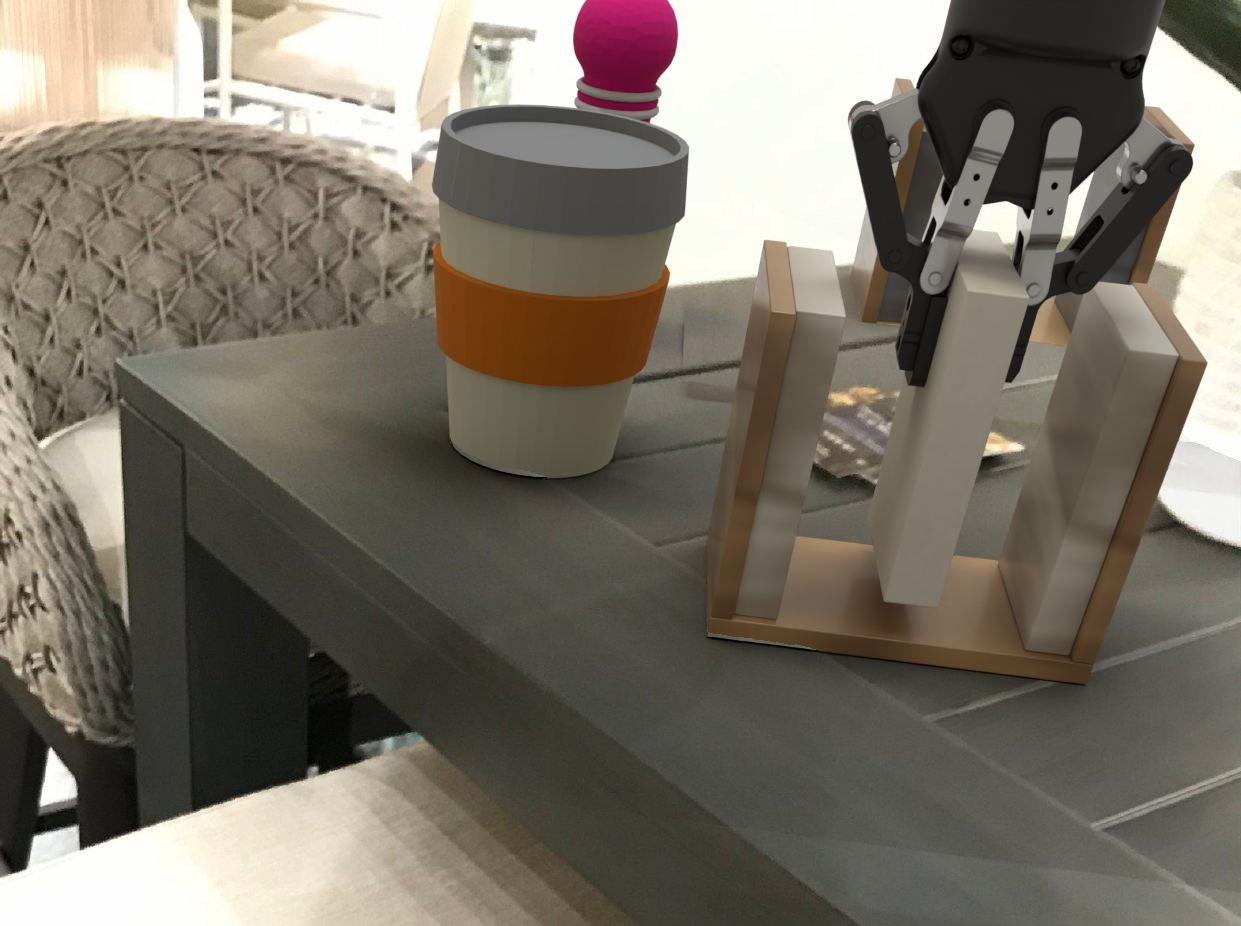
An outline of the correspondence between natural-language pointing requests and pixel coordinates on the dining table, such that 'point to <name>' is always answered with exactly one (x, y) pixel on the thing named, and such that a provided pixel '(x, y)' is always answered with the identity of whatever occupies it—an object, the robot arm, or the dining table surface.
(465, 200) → the reusable coffee cup
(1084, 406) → the white rack
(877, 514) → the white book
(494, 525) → the dining table surface
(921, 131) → the grey rack
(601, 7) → the pepper mill
